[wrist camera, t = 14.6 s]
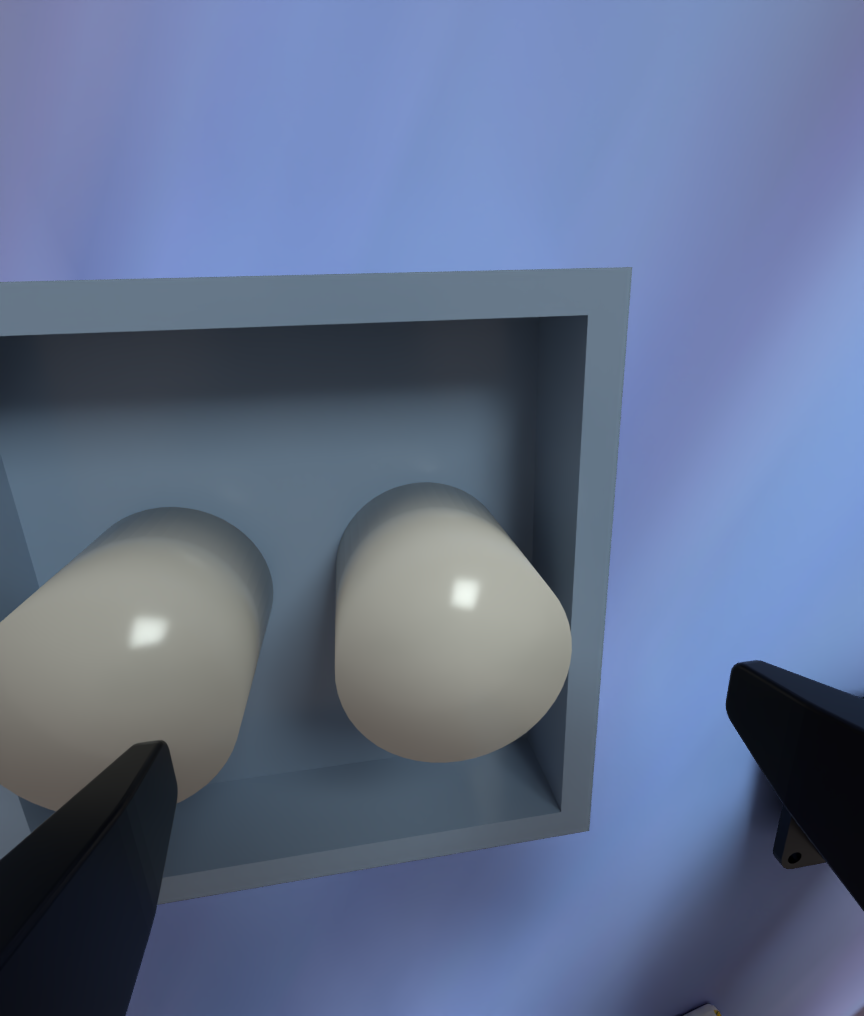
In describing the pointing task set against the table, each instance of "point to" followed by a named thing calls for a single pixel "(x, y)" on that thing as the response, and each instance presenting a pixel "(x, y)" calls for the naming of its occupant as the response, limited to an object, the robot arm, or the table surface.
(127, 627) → the pebble
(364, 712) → the pebble
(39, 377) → the dish
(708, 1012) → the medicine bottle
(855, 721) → the robot arm
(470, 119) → the table surface
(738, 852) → the table surface
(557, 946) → the table surface
